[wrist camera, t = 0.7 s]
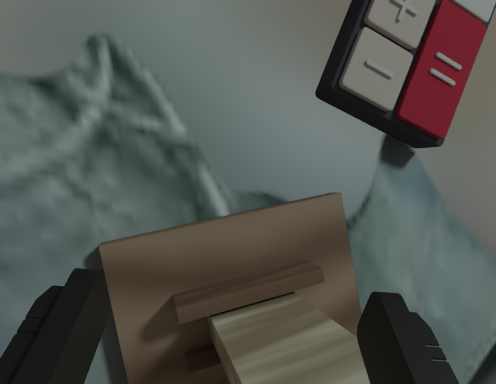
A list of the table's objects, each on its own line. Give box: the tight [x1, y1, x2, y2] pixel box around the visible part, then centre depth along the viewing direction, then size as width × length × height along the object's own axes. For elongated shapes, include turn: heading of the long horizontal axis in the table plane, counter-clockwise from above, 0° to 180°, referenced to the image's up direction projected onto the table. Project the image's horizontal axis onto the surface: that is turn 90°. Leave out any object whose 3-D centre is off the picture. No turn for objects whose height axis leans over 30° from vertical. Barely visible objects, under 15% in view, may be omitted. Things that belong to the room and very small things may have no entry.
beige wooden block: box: [207, 292, 370, 384], centre depth 19 cm, size 2×6×16 cm, turn 101°
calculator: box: [315, 0, 496, 148], centre depth 30 cm, size 11×4×15 cm
